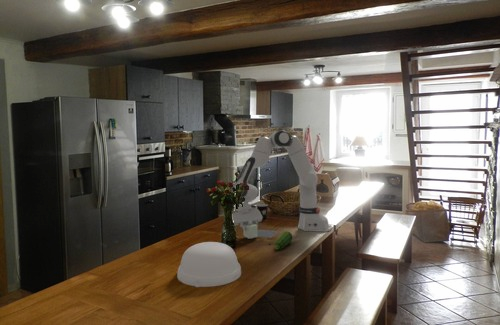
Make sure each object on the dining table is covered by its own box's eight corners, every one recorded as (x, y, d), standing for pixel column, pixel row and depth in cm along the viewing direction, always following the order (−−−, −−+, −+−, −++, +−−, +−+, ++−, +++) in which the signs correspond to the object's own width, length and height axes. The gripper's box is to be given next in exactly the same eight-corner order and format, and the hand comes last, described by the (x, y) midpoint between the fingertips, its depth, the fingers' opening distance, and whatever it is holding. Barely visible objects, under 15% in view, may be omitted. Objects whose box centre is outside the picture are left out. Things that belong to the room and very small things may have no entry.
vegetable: (291, 228, 231) (278, 237, 213) (296, 239, 230) (284, 249, 212) (280, 232, 234) (267, 242, 216) (286, 243, 234) (273, 254, 216)
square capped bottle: (252, 234, 244) (252, 219, 243) (257, 236, 239) (257, 221, 238) (243, 235, 241) (243, 220, 240) (248, 238, 236) (247, 222, 235)
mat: (279, 232, 254) (279, 231, 254) (271, 238, 239) (271, 237, 239) (259, 230, 259) (259, 229, 259) (249, 236, 244) (249, 235, 244)
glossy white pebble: (254, 238, 241) (254, 234, 241) (252, 240, 238) (252, 236, 237) (248, 237, 242) (248, 234, 242) (246, 239, 239) (246, 235, 239)
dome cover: (193, 260, 204) (192, 234, 203) (248, 264, 196) (248, 237, 195) (164, 284, 173) (163, 253, 172) (229, 290, 166) (228, 258, 164)
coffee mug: (268, 217, 296) (268, 204, 295) (267, 219, 287) (267, 206, 286) (253, 217, 297) (252, 204, 296) (252, 219, 288) (251, 206, 287)
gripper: (229, 209, 240) (237, 228, 232) (259, 205, 249) (266, 223, 241) (226, 215, 244) (233, 234, 236) (255, 211, 253) (263, 229, 246)
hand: (250, 228), depth 239 cm, fingers closed on square capped bottle, 6 cm apart
